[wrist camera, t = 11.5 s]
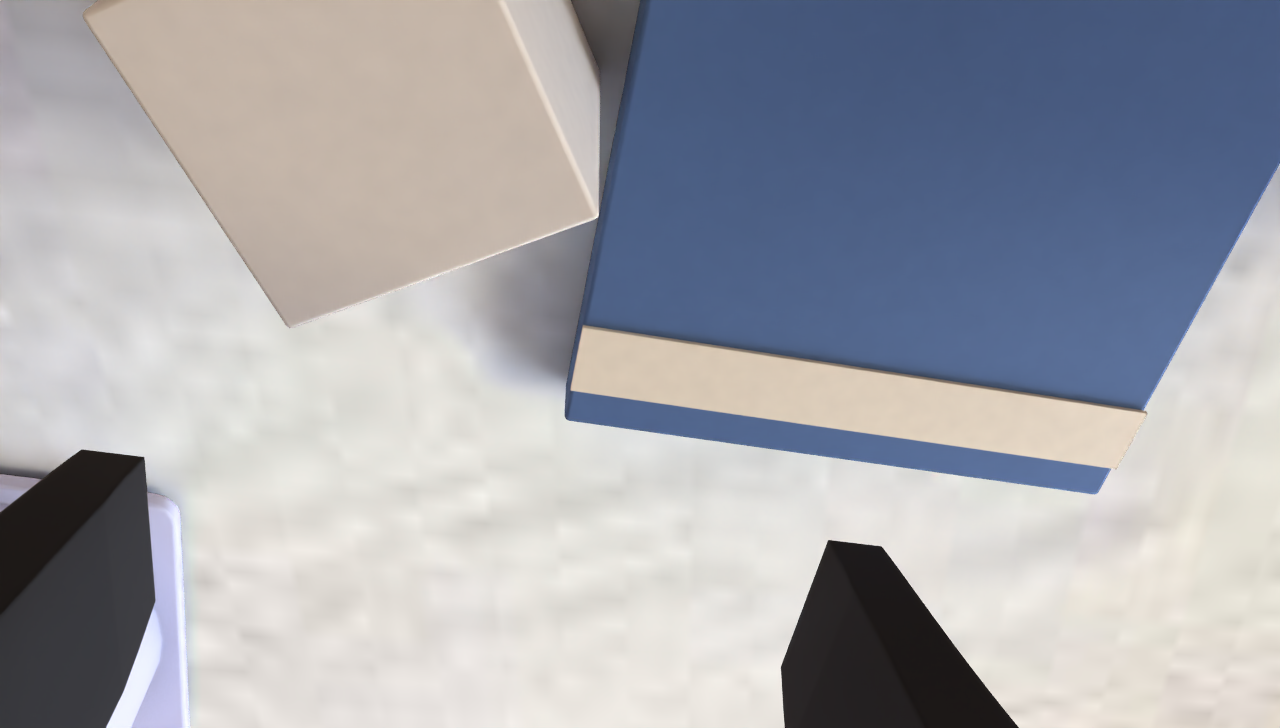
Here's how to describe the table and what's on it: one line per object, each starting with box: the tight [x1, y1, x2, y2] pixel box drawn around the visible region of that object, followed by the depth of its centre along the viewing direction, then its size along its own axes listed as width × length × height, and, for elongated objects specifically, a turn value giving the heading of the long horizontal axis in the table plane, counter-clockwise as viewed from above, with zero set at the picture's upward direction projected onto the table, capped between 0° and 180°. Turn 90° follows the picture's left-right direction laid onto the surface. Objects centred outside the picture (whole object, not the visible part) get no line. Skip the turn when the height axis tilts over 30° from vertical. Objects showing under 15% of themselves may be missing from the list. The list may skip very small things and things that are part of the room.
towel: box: [565, 0, 1280, 494], centre depth 18 cm, size 11×14×1 cm
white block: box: [83, 0, 600, 328], centre depth 15 cm, size 4×4×6 cm
